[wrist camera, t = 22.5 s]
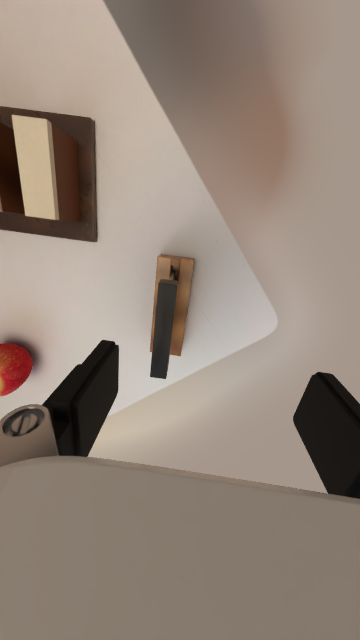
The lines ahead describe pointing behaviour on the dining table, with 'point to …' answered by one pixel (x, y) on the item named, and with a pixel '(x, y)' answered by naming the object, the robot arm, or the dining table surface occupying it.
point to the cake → (5, 186)
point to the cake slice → (47, 169)
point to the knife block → (184, 284)
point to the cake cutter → (164, 325)
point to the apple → (13, 367)
